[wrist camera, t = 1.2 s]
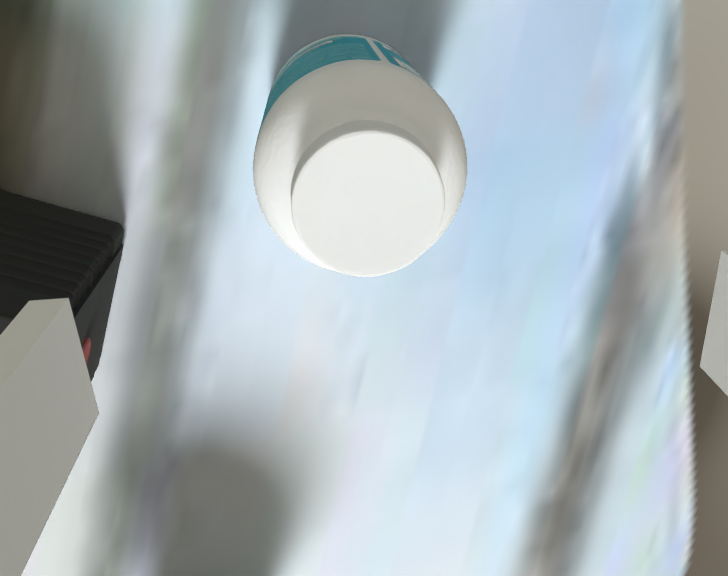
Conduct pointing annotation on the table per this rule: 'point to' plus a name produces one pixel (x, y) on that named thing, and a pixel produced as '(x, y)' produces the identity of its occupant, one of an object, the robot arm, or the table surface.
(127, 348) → the table surface
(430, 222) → the pill bottle
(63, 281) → the camera
